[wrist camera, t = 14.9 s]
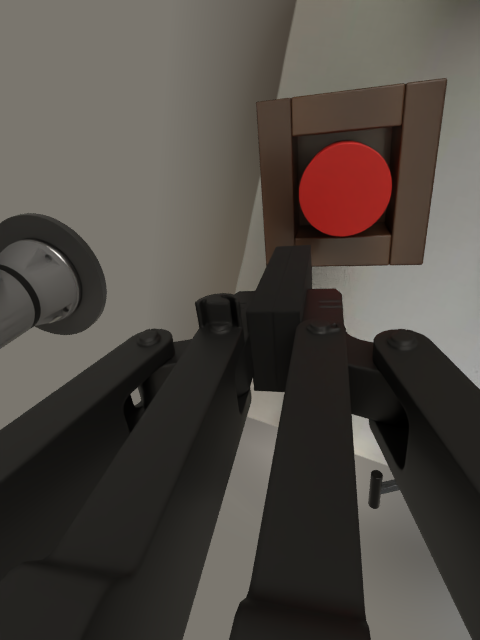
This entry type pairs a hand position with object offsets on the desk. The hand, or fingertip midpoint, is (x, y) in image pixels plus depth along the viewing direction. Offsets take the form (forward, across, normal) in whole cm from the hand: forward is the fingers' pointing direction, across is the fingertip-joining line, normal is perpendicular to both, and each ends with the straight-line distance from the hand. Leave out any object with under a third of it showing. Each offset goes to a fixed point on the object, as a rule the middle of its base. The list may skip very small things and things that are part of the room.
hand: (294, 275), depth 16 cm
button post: (+38, +2, +3) cm, 38 cm away
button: (+6, +2, +3) cm, 7 cm away
